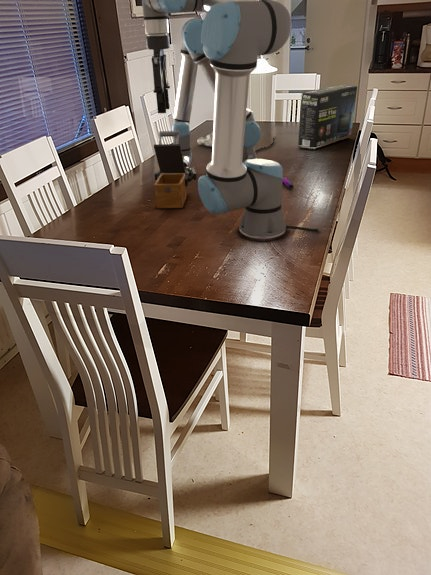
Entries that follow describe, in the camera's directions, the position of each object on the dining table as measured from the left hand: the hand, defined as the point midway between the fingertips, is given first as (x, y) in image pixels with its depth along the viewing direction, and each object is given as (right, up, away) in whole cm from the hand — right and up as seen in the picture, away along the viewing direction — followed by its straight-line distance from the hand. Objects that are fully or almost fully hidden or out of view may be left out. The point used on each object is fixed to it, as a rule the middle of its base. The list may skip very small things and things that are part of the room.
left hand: (172, 183), depth 177 cm
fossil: (+15, +38, +74) cm, 84 cm away
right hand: (-1, +21, -18) cm, 28 cm away
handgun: (+43, +4, +16) cm, 46 cm away
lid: (0, +7, -6) cm, 9 cm away
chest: (0, -7, 0) cm, 7 cm away
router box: (+75, +37, +68) cm, 108 cm away
